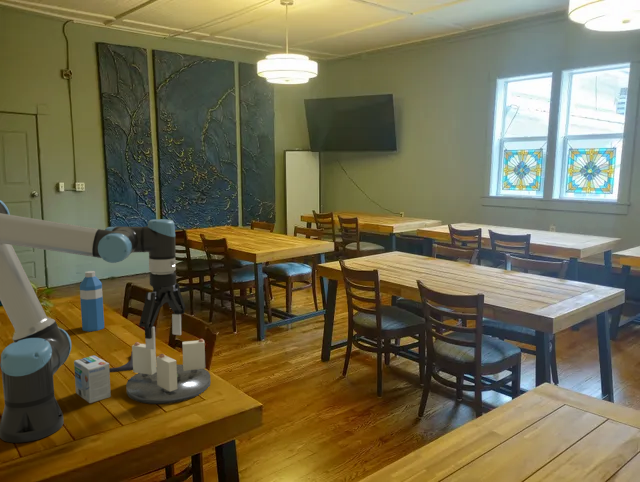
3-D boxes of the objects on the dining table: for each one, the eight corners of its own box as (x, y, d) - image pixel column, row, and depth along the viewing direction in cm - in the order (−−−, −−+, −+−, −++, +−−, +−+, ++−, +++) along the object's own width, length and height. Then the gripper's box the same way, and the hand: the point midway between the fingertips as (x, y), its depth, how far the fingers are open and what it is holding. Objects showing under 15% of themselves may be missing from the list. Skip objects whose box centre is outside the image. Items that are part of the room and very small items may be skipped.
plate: (171, 411, 150) (170, 398, 149) (108, 393, 162) (107, 380, 161) (226, 378, 173) (226, 367, 172) (167, 365, 185) (167, 354, 184)
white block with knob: (177, 392, 157) (176, 357, 155) (169, 395, 155) (168, 359, 153) (165, 386, 162) (163, 351, 160) (157, 388, 160) (156, 354, 158)
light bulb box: (75, 393, 162) (72, 360, 160) (96, 386, 167) (94, 354, 165) (90, 404, 155) (87, 369, 153) (112, 396, 159) (110, 363, 158)
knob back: (156, 375, 170) (155, 342, 168) (151, 378, 167) (150, 345, 166) (138, 372, 172) (136, 340, 170) (133, 375, 169) (131, 343, 168)
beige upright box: (183, 374, 171) (182, 341, 169) (183, 371, 173) (182, 339, 172) (205, 371, 173) (204, 339, 171) (204, 368, 175) (203, 337, 174)
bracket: (153, 355, 196) (153, 348, 196) (153, 369, 182) (152, 362, 182) (113, 359, 192) (112, 351, 192) (109, 374, 178) (108, 366, 178)
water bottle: (99, 331, 222) (96, 274, 218) (77, 331, 222) (74, 274, 218) (108, 324, 231) (105, 269, 227) (87, 324, 231) (84, 269, 227)
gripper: (147, 281, 140) (149, 356, 143) (196, 265, 164) (196, 330, 167) (124, 279, 142) (126, 353, 145) (175, 263, 166) (176, 327, 169)
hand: (164, 341), depth 156 cm, fingers open, 13 cm apart
